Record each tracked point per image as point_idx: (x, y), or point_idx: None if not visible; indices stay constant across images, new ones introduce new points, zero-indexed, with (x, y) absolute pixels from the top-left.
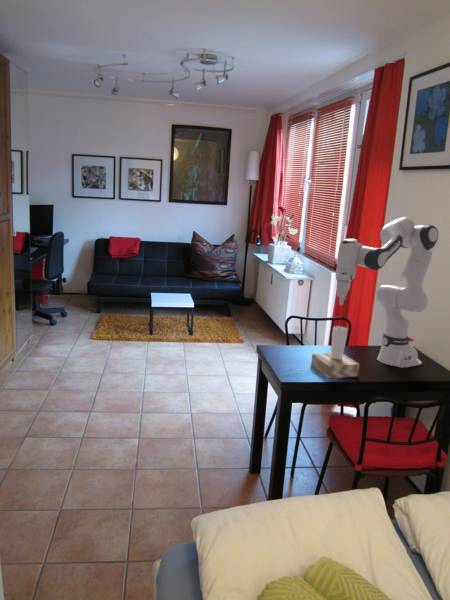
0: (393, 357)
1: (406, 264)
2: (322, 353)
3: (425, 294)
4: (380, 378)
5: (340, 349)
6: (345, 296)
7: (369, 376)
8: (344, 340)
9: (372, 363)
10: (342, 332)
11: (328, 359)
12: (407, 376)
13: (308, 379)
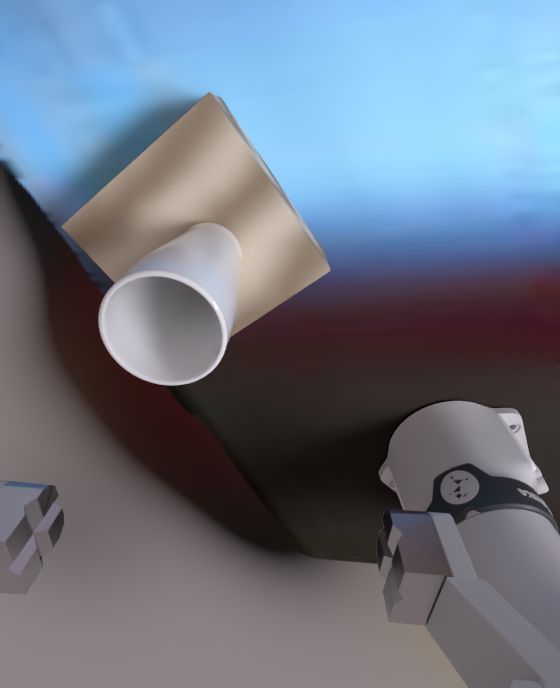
0: (402, 471)
1: None
2: (254, 161)
3: None
4: (227, 409)
5: (166, 292)
6: (428, 622)
7: (226, 374)
8: (160, 334)
9: (391, 383)
10: (115, 346)
11: (164, 210)
12: (297, 482)
13: (9, 114)
